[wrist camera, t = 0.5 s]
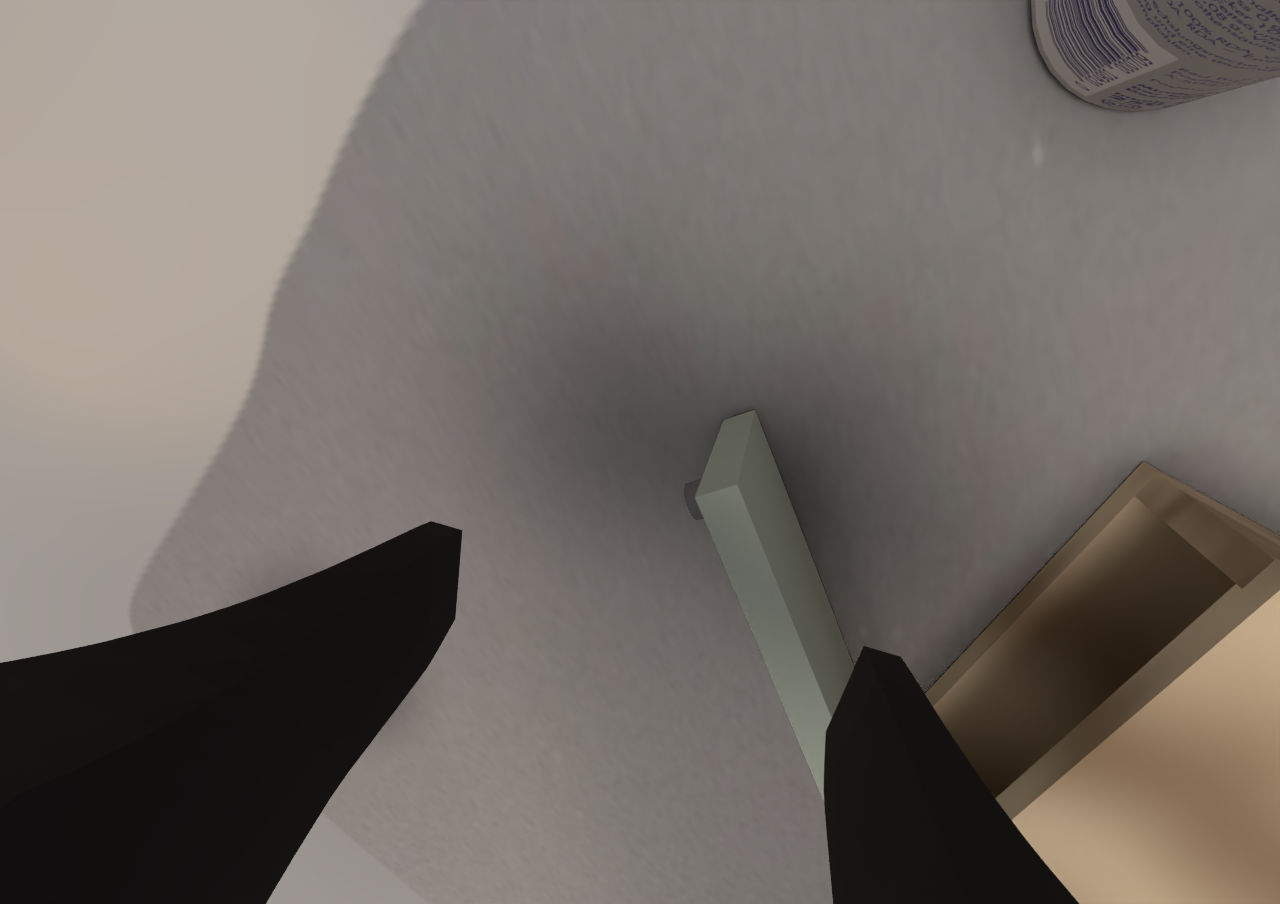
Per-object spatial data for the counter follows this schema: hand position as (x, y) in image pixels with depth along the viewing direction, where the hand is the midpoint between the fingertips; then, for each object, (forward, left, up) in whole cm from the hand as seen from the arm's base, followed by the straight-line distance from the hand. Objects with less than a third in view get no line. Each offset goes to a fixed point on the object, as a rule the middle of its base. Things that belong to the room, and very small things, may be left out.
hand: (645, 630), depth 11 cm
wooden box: (0, -14, -10) cm, 17 cm away
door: (-3, -4, -10) cm, 11 cm away
